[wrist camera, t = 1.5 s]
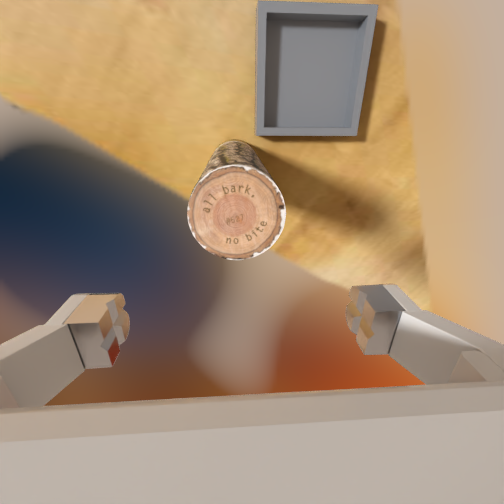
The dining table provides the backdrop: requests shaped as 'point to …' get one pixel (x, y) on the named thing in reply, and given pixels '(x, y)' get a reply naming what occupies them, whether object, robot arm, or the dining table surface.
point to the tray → (311, 67)
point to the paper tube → (236, 204)
